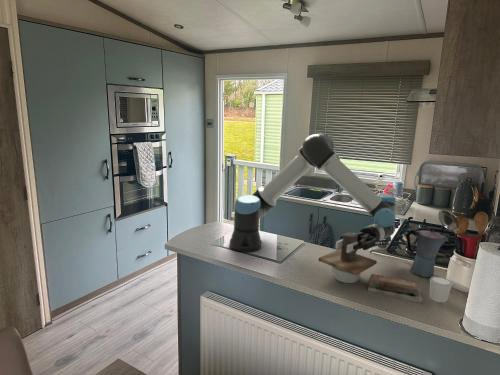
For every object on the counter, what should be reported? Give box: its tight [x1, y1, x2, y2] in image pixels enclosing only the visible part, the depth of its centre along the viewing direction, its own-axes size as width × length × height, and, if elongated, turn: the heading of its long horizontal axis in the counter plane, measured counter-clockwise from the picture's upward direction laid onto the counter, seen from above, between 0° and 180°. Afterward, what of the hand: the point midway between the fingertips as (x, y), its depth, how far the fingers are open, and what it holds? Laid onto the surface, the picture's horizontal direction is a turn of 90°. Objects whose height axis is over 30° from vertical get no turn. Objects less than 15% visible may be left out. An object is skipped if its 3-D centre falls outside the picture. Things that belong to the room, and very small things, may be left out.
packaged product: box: [367, 273, 423, 304], centre depth 126 cm, size 18×5×10 cm
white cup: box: [428, 276, 453, 303], centre depth 122 cm, size 7×7×7 cm
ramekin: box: [331, 266, 361, 284], centre depth 135 cm, size 11×11×5 cm
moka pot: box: [405, 227, 449, 279], centre depth 141 cm, size 10×15×20 cm, turn 78°
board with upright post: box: [318, 232, 378, 275], centre depth 133 cm, size 16×16×11 cm
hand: (342, 247), depth 129 cm, fingers closed on board with upright post, 4 cm apart
